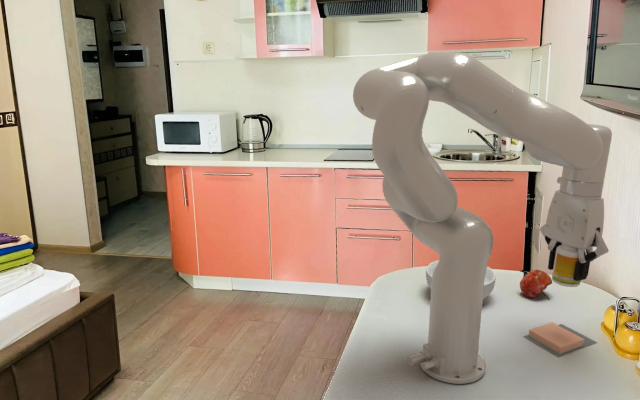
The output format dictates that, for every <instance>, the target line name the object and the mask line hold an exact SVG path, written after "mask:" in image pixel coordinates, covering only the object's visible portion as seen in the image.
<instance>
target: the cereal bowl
mask: <svg viewBox="0 0 640 400" xmlns="http://www.w3.org/2000/svg"><path fill="white" fill-rule="evenodd" d="M438 262H439V259H438V260H434V261H432V262H430V263H429V264H428V265H427V267H426V269H425V278H426V284H427V285H428V287H429V290H431V282H432V276H433V273H434V270H435V268H436V267H437V265H438ZM495 285H496V272H495V271H494V270H493V269H492V268H491V267H490V266H488V265H487V268H486V273H485V279H484V289H483V300H484V299H487V297H488V296H489V295H491V293H492V291H493V290H494V288H495Z"/></svg>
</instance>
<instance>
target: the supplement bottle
mask: <svg viewBox="0 0 640 400" xmlns="http://www.w3.org/2000/svg"><path fill="white" fill-rule="evenodd" d="M578 261H579V253H578V249H577V248H574V247H572V246H569V245H566V244H563V243H562V245H559V246H558V247H557V249H556V254H555V260H554V267H553V270H552V273H551V280H552V283H555V284H557V285H559V286H562V287H566V288H576V287H579V286H580V285H581V281H582V280H580V281H575V280H574V279H573V277H574V272H575V266H576V262H578Z"/></svg>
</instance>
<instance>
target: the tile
mask: <svg viewBox="0 0 640 400" xmlns="http://www.w3.org/2000/svg"><path fill="white" fill-rule="evenodd" d="M558 325H559V324H556V323H554V321H553V322H548V323H546V324H544V325H540V326H537V327H534V328H533V327H532V328H531V329H529V330H528V335H529V337H531V338H533V339H534V340H536V341H538V342H540V343H541V344H543V345H545V346H547V347H548V348H550V349H552V350H554V351H555V352H557V353H559V354H562V353H565V352H567V351H570V350H573V349H575V348H578V347H581V346H583V345H584V339H583V338H581V337H579V336H577V335H575V334H574V333H572V332H570V331H568V330H566V329H564V328H562V327H560V326H558Z"/></svg>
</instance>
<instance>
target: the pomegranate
mask: <svg viewBox="0 0 640 400" xmlns="http://www.w3.org/2000/svg"><path fill="white" fill-rule="evenodd" d="M519 272H521V273H523V276H522V278H521V280H520V282H519V288H520V291H521V292H522V294H523V295H524V296H525V297H527V298H528V299H529V298H530V299H535V298H536V297H537V296H538V295H539V294H541V293H542V294H543V296H544V297H546V298H547V299H548V300H551V299H550V298H549V297H548V295H546V294H545V292H544V291H546V289H547V287H548V286H550V285H552V284H553V280H552V277H551V276H550V275H549V274H548V273H547V272H545V271H543V270H540V269H533V270H530V271H529V272H528V271H526V270H524V269H521V270H520V271H519Z"/></svg>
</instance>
